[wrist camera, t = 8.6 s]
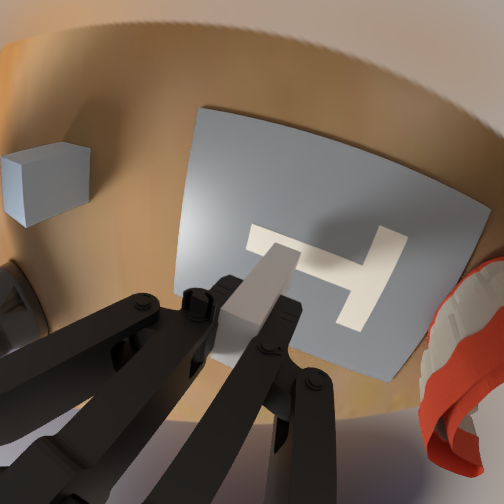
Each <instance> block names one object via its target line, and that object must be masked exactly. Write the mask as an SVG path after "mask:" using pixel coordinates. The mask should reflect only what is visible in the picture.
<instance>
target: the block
mask: <svg viewBox="0 0 504 504" xmlns="http://www.w3.org/2000/svg"><path fill="white" fill-rule="evenodd" d="M90 155H91V148H88V147H84V146H79V145H75V144H71V143H66V142H57V143H52V144H47V145H43V146H38V147H34V148H30V149H26V150H22V151H18V152H14V153H10V154H7V155H3V156H1V178H2V192H3V202H4V211H5V212H6V213H8V214H9V215H10V216H11V217H13V218H14V219H15V220H16V221H18V222H19V223H20V224H21V225H23V226H24V227H25V228H28V227H30V226H33V225H35V224H37V223H39V222H42V221H44V220H46V219H49V218H51V217H54V216H56V215H58V214H61V213H63V212H66V211H68V210H71V209H73V208H76V207H79V206H81V205H84V204H86V203H89V178H90Z"/></svg>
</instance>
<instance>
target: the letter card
mask: <svg viewBox="0 0 504 504" xmlns="http://www.w3.org/2000/svg"><path fill="white" fill-rule="evenodd" d="M491 210H492V209H490V208H489V207H487V206H485V205H483V204H481V203H480V202H478V201H476V200H474V199H472V198H470V197H469V196H467V195H465V194H463V193H461V192H459V191H457V190H455V189H453V188H451V187H449V186H447V185H445V184H443V183H441V182H439V181H436V180H434V179H432V178H430V177H428V176H426V175H423V174H421V173H419V172H417V171H414V170H412V169H410V168H407V167H405V166H403V165H400V164H398V163H395V162H393V161H390V160H388V159H385V158H383V157H380V156H378V155H375V154H372V153H370V152H367V151H364V150H361V149H359V148H356V147H353V146H350V145H347V144H344V143H341V142H338V141H335V140H332V139H329V138H326V137H322V136H319V135H316V134H313V133H309V132H306V131H302V130H299V129H295V128H292V127H288V126H284V125H280V124H276V123H272V122H268V121H264V120H260V119H256V118H251V117H247V116H242V115H238V114H233V113H228V112H223V111H217V110H212V109H206V108H198V113H197V118H196V124H195V129H194V135H193V140H192V146H191V152H190V158H189V164H188V171H187V177H186V184H185V191H184V198H183V206H182V213H181V221H180V230H179V239H178V248H177V258H176V269H175V280H174V294H176V295H178V296H180V297H182V298H183V291H185V290H187V289H189V288H194V287H196V288H203V289H207V290H209V289H211V287H212V286H213V285H214V284H215V283H216V282H217V281H218V280H219V279H220V278H221V277H224V276H227V275H229V274H230V275H233V276H235V277H237V278H240V279H242V280H245V278H246V277H247V276H248V275H249V274H250V272H251V271H252V270H253V269H254V268H255V266H256V265H257V264H258V263H259V261H260V260H261V259H262V258H263V257H264V255H265V254H266V253H267V252H268V250H269V249H270V248H271V247H272V246H273V244H274V243H275V242H276V243H279V244H281V245H284V246H286V247H289V248H292V249H294V250H297V251H300V252H301V255H300V258H299V261H298V264H297V267H296V269H295V272H294V275H293V278H292V281H291V284H290V286H289V289H288V292H287V294H286V297H288V298H291V299H293V300H296V301H298V302H301V305H302V309H303V311H302V314H301V316H300V319H299V321H298V324H297V326H296V329H295V331H294V334H293V336H292V338H291V341H290V343H289V346H290V347H293V348H295V349H298V350H300V351H303V352H305V353H308V354H310V355H313V356H315V357H318V358H321V359H323V360H326V361H328V362H331V363H334V364H336V365H339V366H342V367H344V368H347V369H350V370H353V371H356V372H358V373H361V374H364V375H367V376H370V377H373V378H376V379H379V380H382V381H385V382H388V383H389V382H390V381H391V380H392V378H393V377H394V376H395V375H396V373H397V372H398V371H399V370H400V368H401V367H402V366H403V364H404V363H405V362H406V360H407V359H408V358H409V356H410V355H411V354H412V352H413V351H414V350H415V348H416V347H417V345H418V344H419V343H420V341H421V340H422V338H423V337H424V335H425V334H426V332H427V331H428V329H429V326H430V323H431V321H432V320H433V316H434V314H435V312H436V311H437V309H438V307H439V306H440V304H441V303H442V302H443V300H444V299H445V298H446V296H447V295H448V294H449V293H450V292H451V291H452V290H453V288H454V287H455V285H456V284H457V282H458V280H459V278H460V276H461V274H462V273H463V271H464V269H465V267H466V265H467V263H468V261H469V259H470V257H471V255H472V253H473V251H474V249H475V247H476V244H477V242H478V240H479V238H480V236H481V233H482V231H483V229H484V227H485V224H486V222H487V219H488V217H489V215H490V212H491Z"/></svg>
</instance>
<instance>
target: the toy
mask: <svg viewBox="0 0 504 504" xmlns="http://www.w3.org/2000/svg"><path fill="white" fill-rule="evenodd" d="M503 382H504V256H502V257H498V258H494V259H491V260H488V261H485V262H483V263H482V264H481V265H479V266H478V267H476V268H474V269H473V270H471V271H470V272H469V273H468V274H467V275H466V276H465V277H464V278H463V279H462V280H461V281H460V282H459V283H458V284H457V285H456V286H455V287H454V288H453V290H452V291H451V292H450V293H449V294H448V295H447V296H446V298H445V299H444V300H443V302H442V303H441V304H440V306H439V307H438V309H437V311H436V312H435V314H434V316H433V320H432V321H431V323H430V326H429V331H428V348H427V349H426V350H424V353H423V357H422V362H421V378H420V379H419V385H420V398H421V403H420V408H419V411H418V415H419V423H420V427H421V433H422V436H423V441H424V444H425V448H426V452H427V455H428V459H429V460H430V461H432V462H433V463H435V464H436V465H438V466H440V467H442V468H444V469H447V470H449V471H451V472H454V473H456V474H459V475H463V476H466V477H470V478H472V477H476V476H479V475H481V474H482V473H483V472H484V468H483V465H482V461H481V458H480V453H479V437H477V436H476V432H475V428H474V424H473V420H472V418H471V417H470V416H469V415H471V414H473V413H475V412H476V411H477V410H478V403H479V402H480V401H481V400H482V399H483V398H484V397H485V396H486V395H487V394H488V393H490V392H491V391H492V390H493V389H495V388H496V387H497V386H499V385H500V384H502V383H503Z"/></svg>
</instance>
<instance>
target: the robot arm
mask: <svg viewBox="0 0 504 504" xmlns="http://www.w3.org/2000/svg"><path fill="white" fill-rule="evenodd" d="M300 255H301V252H300V251H297V250H294V249H292V248H289V247H286V246H284V245H281V244H279V243H276V242H275V243H274V244H273V246H272V247H271V248H270V249H269V250H268V252H267V253H266V254H265V255H264V257H263V258H262V259H261V260H260V261H259V263H258V264H257V265H256V266H255V268H254V269H253V270H252V271H251V272H250V274H249V275H248V276H247V277H246V278H245V280H242V279H240V278H237V277H235V276H233V275H230V274H229V275H227V276H224V277H221V278H220V279H219V280H218V281H217V282H216V283H215V284H214V285H213V286H212V287H211V289H209V290H207V289H203V288H196V287H194V288H189V289H187V290H185V291H183V299H182V308H181V309H180V310H171V309H167V308H163V307H160V303H159V300H158V299H157V298H156V297H155V296H153V295H151V294H148V293H137V294H133V295H131V296H129V297H127V298H125V299H123V300H120V301H118V302H116V303H114V304H112V305H110V306H108V307H106V308H103V309H101V310H99V311H97V312H95V313H93V314H91V315H89V316H87V317H85V318H82V319H80V320H78V321H76V322H74V323H72V324H70V325H68V326H66V327H64V328H61V329H59V330H57V331H55V332H53V333H51V334H49V335H48V326H47V322H46V319H45V316H44V313H43V311H42V308H41V306H40V304H39V302H38V299H37V297H36V295H35V293H34V291H33V290H32V288H31V286H30V284H29V283H28V281H27V279H26V278H25V276H24V275H23V273H22V272H21V270H20V269H19V268H18V267H17V266H16V265H15V264H14V263H13V262H10V261H9V262H7V263H5V264H3V265H2V266H0V446H2V445H5V444H8V443H11V442H14V441H16V440H18V439H20V438H22V437H24V436H25V435H27V434H29V433H31V432H32V431H34V430H36V429H38V428H40V427H41V426H43V425H45V424H47V423H48V422H50V421H52V420H54V419H55V418H57V417H59V416H60V415H62V414H64V413H66V412H67V411H69V410H71V409H72V408H74V407H76V406H77V405H79V404H81V403H82V402H84V401H86V400H87V399H89V398H91V397H92V396H93V397H92V398H91V400H90V401H89V402H88V403H87V404H86V405H85V406H84V407H83V408H82V409H81V410H80V411H79V412H78V413H77V414H76V415H75V416H74V417H73V418H72V419H71V420H70V421H69V422H68V423H67V424H66V425H65V426H64V427H63V428H62V429H61V430H60V431H59V432H58V433H57V434H55V435H53V436H43V437H40V438H38V439H37V440H35V441H34V442H33V443H32V444H31V445H30V446H29V447H28V448H27V449H26V450H25V451H24V452H23V453H22V454H21V455H20V456H19V457H18V458H17V459H16V460H15V461H14V462H13V463H12V464H11V465H10V466H5V467H4V466H2V467H0V504H105V503H106V501H107V500H108V498H109V495H110V491H111V489H112V488H113V486H114V485H115V484H116V482H117V481H118V480H119V479H120V477H121V476H122V475H123V474H124V472H125V471H126V470H127V468H128V467H129V466H130V465H131V463H132V462H133V461H134V459H135V458H136V457H137V456H138V454H139V453H140V452H141V450H142V449H143V448H144V447H145V445H146V444H147V442H148V441H149V440H150V438H151V437H152V436H153V435H154V433H155V432H156V431H157V429H158V428H159V426H160V425H161V424H162V423H163V422H164V420H165V419H166V418H167V416H168V415H169V414H170V412H171V411H172V410H173V408H174V407H175V405H176V404H177V403H178V401H179V400H180V399H181V397H182V396H183V395H184V393H185V392H186V391H187V389H188V388H189V387H190V385H191V384H192V382H193V381H194V380H195V378H196V377H197V376H198V374H199V373H200V371H201V370H202V369H203V367H204V365H205V363H206V358H207V356H208V355H209V353H210V352H211V351H212V352H211V357H210V358H212V359H214V360H216V361H219V362H221V363H223V364H225V365H227V366H229V367H231V368H233V370H232V371H231V373H230V375H229V376H228V378H227V379H226V381H225V383H224V384H223V386H222V387H221V389H220V391H219V392H218V394H217V395H216V397H215V398H214V400H213V402H212V403H211V405H210V406H209V408H208V409H207V411H206V412H205V414H204V415H203V417H202V418H201V420H200V422H199V423H198V425H197V426H196V428H195V429H194V431H193V432H192V434H191V435H190V437H189V438H188V440H187V441H186V443H185V444H184V445H183V447H182V448H181V450H180V451H179V453H178V455H177V456H176V457H175V459H174V460H173V462H172V463H171V464H170V466H169V467H168V469H167V470H166V472H165V473H164V474H163V476H162V477H161V479H160V480H159V481H158V483H157V484H156V486H155V487H154V489H153V490H152V491H151V493H150V494H149V495H148V497H147V498H146V499H145V501H144V502H143V503H142V504H210V503H211V502H212V500H213V498H214V497H215V495H216V493H217V491H218V489H219V488H220V486H221V484H222V482H223V480H224V479H225V477H226V475H227V473H228V471H229V470H230V468H231V466H232V464H233V462H234V460H235V458H236V456H237V455H238V453H239V451H240V449H241V447H242V445H243V443H244V441H245V439H246V437H247V435H248V433H249V431H250V429H251V427H252V425H253V423H254V421H255V419H256V417H257V415H258V413H259V411H260V408H261V406H262V405H263V406H264V407H266V408H267V409H268V410H269V411H271V412H272V413H273V414H275V416H274V424H273V433H272V441H271V450H270V458H269V466H268V474H267V481H266V489H265V496H264V503H263V504H336V493H337V492H336V489H337V485H336V484H337V480H336V479H337V475H336V474H337V471H336V431H335V409H334V392H333V383H332V380H331V378H330V377H329V376H328V374H327V373H325V372H324V371H322V370H320V369H317V368H311V367H308V368H305V369H301V368H300V367H299V366H297V365H296V364H295V363H294V362H293V361H292V360H291V359H290V357H289V354H288V346H289V343H290V341H291V338H292V336H293V334H294V331H295V329H296V326H297V324H298V321H299V319H300V316H301V314H302V311H303V309H302V305H301V302H298V301H296V300H293V299H291V298H288V297H286V294H287V292H288V289H289V286H290V284H291V281H292V278H293V275H294V272H295V269H296V267H297V264H298V261H299V258H300ZM23 346H24V347H23ZM20 347H22V348H20ZM17 348H20V349H18V350H16V351H14V352H12V353H10V354H8V355H6V354H7V353H9V352H10V351H12V350H14V349H17ZM5 355H6V356H5Z"/></svg>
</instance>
